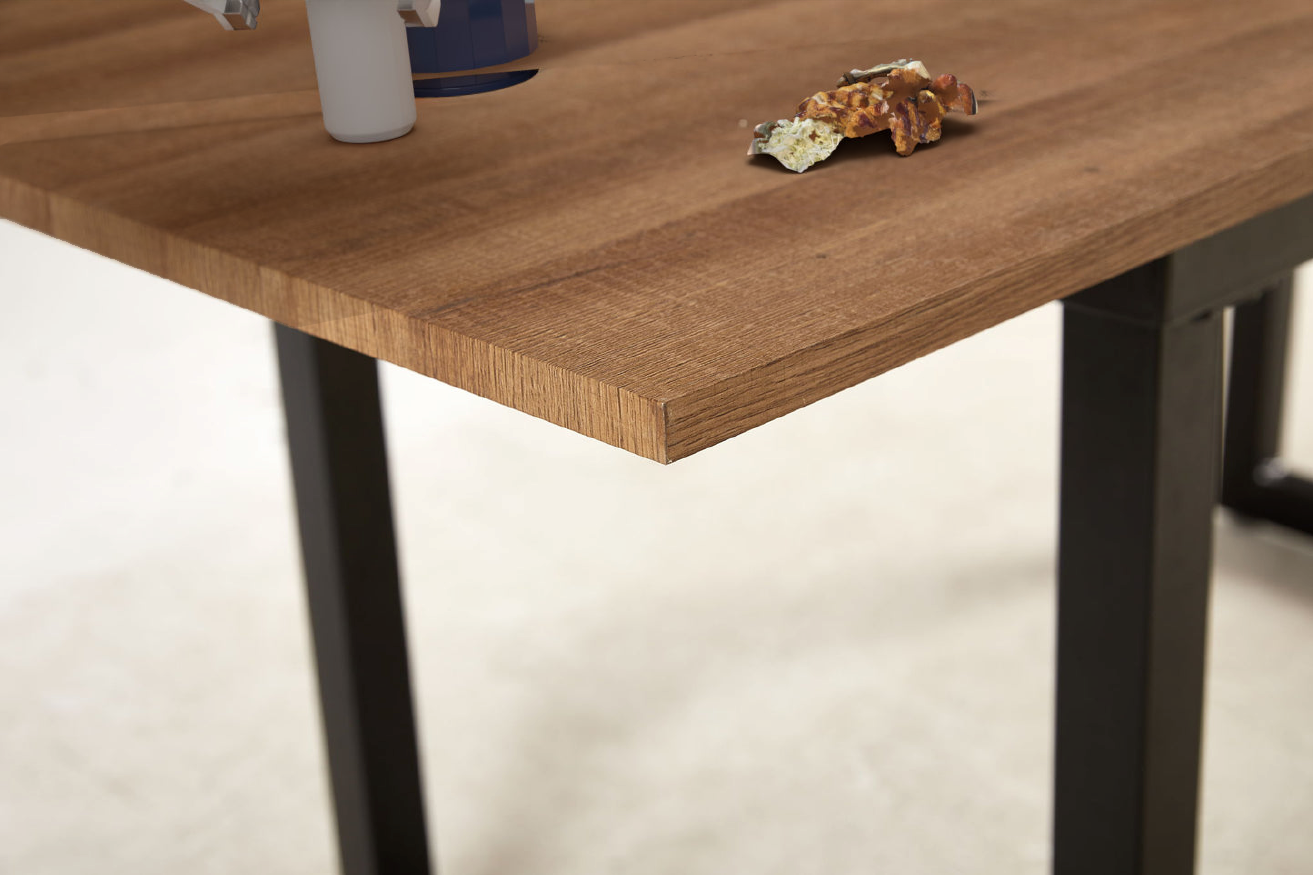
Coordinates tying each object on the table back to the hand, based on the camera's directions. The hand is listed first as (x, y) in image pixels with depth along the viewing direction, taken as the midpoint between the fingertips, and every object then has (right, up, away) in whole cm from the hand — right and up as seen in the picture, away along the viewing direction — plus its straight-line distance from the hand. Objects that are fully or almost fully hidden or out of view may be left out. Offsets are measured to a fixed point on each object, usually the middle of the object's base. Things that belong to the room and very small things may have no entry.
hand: (333, 17), depth 76 cm
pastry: (+26, -7, -1) cm, 27 cm away
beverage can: (+1, -5, +6) cm, 7 cm away
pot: (+4, +1, +16) cm, 17 cm away
